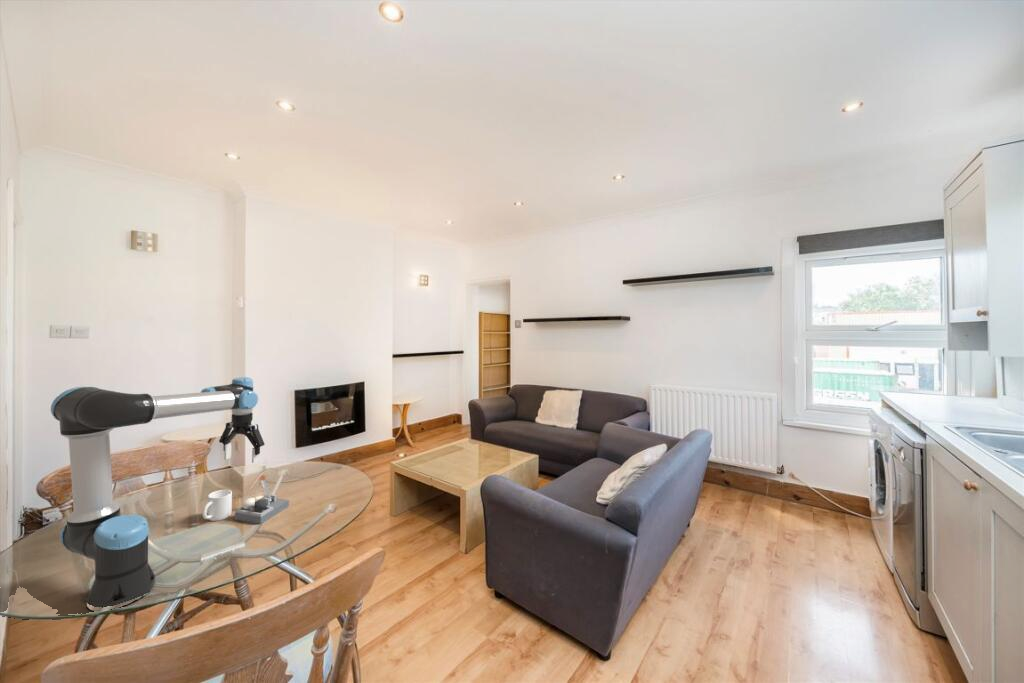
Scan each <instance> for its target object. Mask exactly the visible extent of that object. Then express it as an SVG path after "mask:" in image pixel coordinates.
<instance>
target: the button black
mask: <svg viewBox="0 0 1024 683" xmlns="http://www.w3.org/2000/svg"><path fill="white" fill-rule="evenodd" d="M260 499H261V498H260ZM257 500H258V501H257ZM257 500H255V511H261V510H264V509H266V508H267V500H265V499H261V500H259V499H257Z"/></svg>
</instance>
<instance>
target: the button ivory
mask: <svg viewBox="0 0 1024 683" xmlns="http://www.w3.org/2000/svg"><path fill="white" fill-rule="evenodd" d="M255 502H256V498H255V497H247V498H245V499H242V506H243V509H249V508H252V507H254V506H255Z"/></svg>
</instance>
